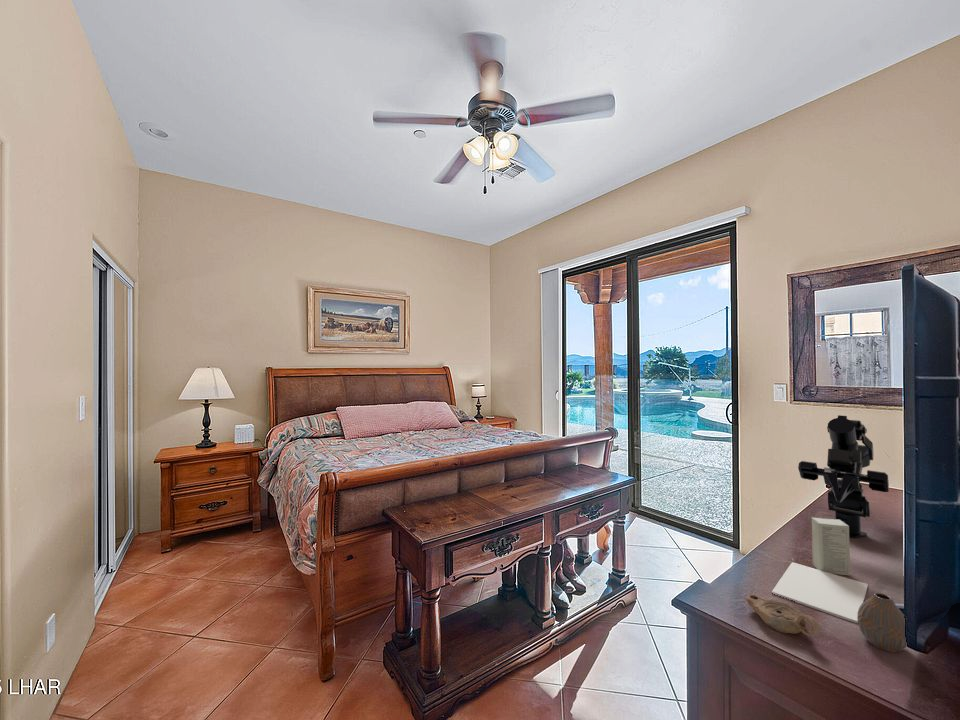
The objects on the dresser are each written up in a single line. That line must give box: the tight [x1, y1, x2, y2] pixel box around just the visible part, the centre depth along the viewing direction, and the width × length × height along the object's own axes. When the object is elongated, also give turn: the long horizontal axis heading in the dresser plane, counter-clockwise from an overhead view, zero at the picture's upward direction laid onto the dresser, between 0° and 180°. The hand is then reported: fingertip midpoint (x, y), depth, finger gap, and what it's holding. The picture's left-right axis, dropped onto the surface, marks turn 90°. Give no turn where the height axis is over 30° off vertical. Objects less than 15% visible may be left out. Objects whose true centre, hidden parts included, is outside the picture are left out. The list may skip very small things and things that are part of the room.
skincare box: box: [811, 516, 851, 577], centre depth 100 cm, size 6×4×12 cm
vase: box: [857, 592, 908, 653], centre depth 74 cm, size 7×7×9 cm
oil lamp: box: [746, 594, 821, 637], centre depth 79 cm, size 13×8×5 cm, turn 14°
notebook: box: [771, 561, 869, 625], centre depth 91 cm, size 20×14×1 cm
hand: (838, 501), depth 110 cm, fingers closed
